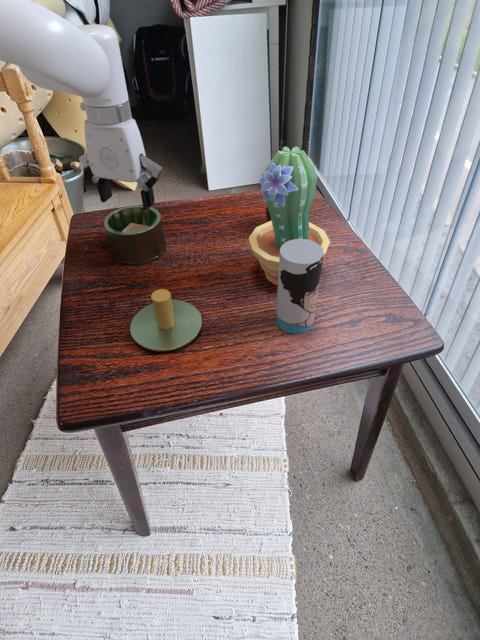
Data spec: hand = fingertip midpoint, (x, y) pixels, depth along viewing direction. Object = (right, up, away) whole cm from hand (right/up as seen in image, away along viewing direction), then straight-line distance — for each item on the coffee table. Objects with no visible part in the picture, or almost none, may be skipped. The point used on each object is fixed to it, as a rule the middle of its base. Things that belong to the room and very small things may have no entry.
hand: (127, 203), depth 84 cm
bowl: (0, -8, +8) cm, 11 cm away
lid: (+10, -24, -10) cm, 28 cm away
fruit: (+33, -2, +14) cm, 36 cm away
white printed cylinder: (+32, -24, -9) cm, 41 cm away
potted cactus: (+32, -14, +1) cm, 35 cm away
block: (0, -8, +8) cm, 11 cm away
